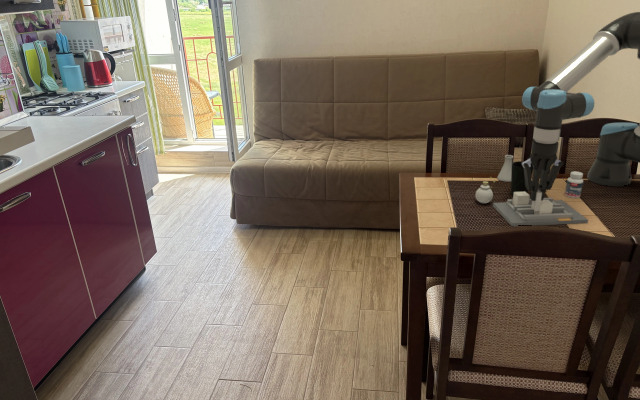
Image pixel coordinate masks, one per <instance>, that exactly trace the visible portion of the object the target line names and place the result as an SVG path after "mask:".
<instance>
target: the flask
mask: <svg viewBox="0 0 640 400" xmlns="http://www.w3.org/2000/svg"><path fill="white" fill-rule="evenodd" d="M513 158H514V156H513V155H511V154H505V155H504V163H503V165H502V167H501V170H500V171H499V173H498V176H497V177H496V178H497V180H498V181H501V182H511V172H512V163H513Z"/></svg>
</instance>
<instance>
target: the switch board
mask: <svg viewBox="0 0 640 400" xmlns="http://www.w3.org/2000/svg"><path fill="white" fill-rule="evenodd" d="M543 200H549V201H550V202H551V203H553V208H552V214H534V210H533V209H532V208H531V206H532V200H531V199H530V198H529V204H528V205H514V206H513V205H512V202H513V198H511V199H510V198H508V199H507V200H506V202H504V201H503V202H493V203H492V207H493V208H494V209H495V210H496V211H497V212H498V213H499V214H500V215H501V217H503V219H504V220H505V221H506V222H507V223H508V224H509V225H510V226H511V227H519V226H518V225H532V226H549V225H550V226H551V225H553V226H554V225H576V224H588V222H589V219H588V218H587V217H585V216H584V215H583V214H581V213H580V212H579V211H577V210H576V209H575V208H573V207H572V206H570V204H568V203H567V202H565V201H564V200H562V199H554V198H553V197H544V199H543Z"/></svg>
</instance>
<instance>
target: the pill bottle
mask: <svg viewBox="0 0 640 400" xmlns="http://www.w3.org/2000/svg"><path fill="white" fill-rule="evenodd" d="M569 175H570V177H568V178H567V180H566V185H565V190H564V195H565V196H566V197H568V198H573V199H579V198H581V195H582V190H583V185H584V179H583V176H584V173H583V172H581V171H574V170H573V171H571V172H570V174H569Z"/></svg>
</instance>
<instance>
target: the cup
mask: <svg viewBox="0 0 640 400" xmlns="http://www.w3.org/2000/svg"><path fill="white" fill-rule="evenodd" d="M522 161H523V160H522ZM522 161H514V162H513V161H512V172H511V183H510V195H511V196H513V195H514V192H526V193H529V192H528V191H529V190H528V189H527V188H526V185H525V176H524V168H523V166H522V164H521V162H522ZM530 170H531V177H533V165H532V164H531V167H530Z"/></svg>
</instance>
